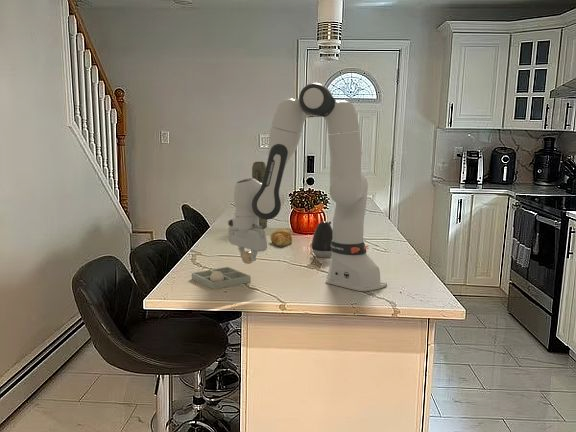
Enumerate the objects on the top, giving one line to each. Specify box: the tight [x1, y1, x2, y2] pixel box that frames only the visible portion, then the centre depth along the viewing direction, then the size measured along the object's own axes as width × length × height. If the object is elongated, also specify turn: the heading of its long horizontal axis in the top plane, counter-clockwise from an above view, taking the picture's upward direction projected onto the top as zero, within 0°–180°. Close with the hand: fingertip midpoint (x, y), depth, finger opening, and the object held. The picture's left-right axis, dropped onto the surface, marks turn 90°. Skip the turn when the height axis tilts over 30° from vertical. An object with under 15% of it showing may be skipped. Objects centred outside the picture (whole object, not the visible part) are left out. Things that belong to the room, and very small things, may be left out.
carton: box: [191, 266, 251, 290], centre depth 195 cm, size 15×15×3 cm
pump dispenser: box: [311, 220, 333, 259], centre depth 234 cm, size 10×10×15 cm
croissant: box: [269, 228, 293, 247], centre depth 260 cm, size 21×10×8 cm, turn 178°
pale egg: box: [210, 271, 224, 282], centre depth 189 cm, size 5×5×5 cm
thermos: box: [251, 161, 268, 229], centre depth 296 cm, size 9×12×35 cm
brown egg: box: [241, 250, 254, 265], centre depth 205 cm, size 5×5×5 cm
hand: (248, 259), depth 205 cm, fingers closed on brown egg, 5 cm apart
